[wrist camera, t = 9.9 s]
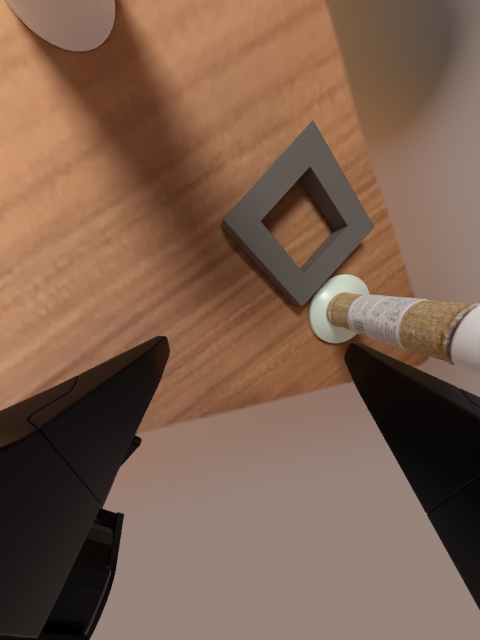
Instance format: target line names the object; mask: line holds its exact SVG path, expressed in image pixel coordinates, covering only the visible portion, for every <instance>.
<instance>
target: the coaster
mask: <svg viewBox="0 0 480 640" xmlns="http://www.w3.org/2000/svg"><path fill="white" fill-rule="evenodd" d="M342 292H348V293H351V294H362V295H369V291H368V289H367V287H366V285H365V284H364V282H363V281H362V280H361V279H359V278H358V277H356V276H353V275H336V276H333V277H331V278H329V279H327V280H326V281H325V282H324V283H323V284H322V285H321V287H320V288H319V289H318V290H317V291H316V292H315V293H314V294H313V296H312V298H311V301H310V305H309V310H308V318H309V324H310V327H311V329H312V331H313V332H314V333H315V335H316V336H317V337H319V338H320V339H322V340H324V341H326V342H329V343H342V342H345V341H347V340H349V339H351V338H352V337H354V336H355V335H356V334H357V333H355V332H353V331H351V330H349V329H345V328H342V327H337V326H334V325H332V324H331V323H330V322H329V319H328V317H327V307H328V304H329V302H330V301H331V299H332V298H333V297H334V296H336V295H337V294H339V293H342Z"/></svg>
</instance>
